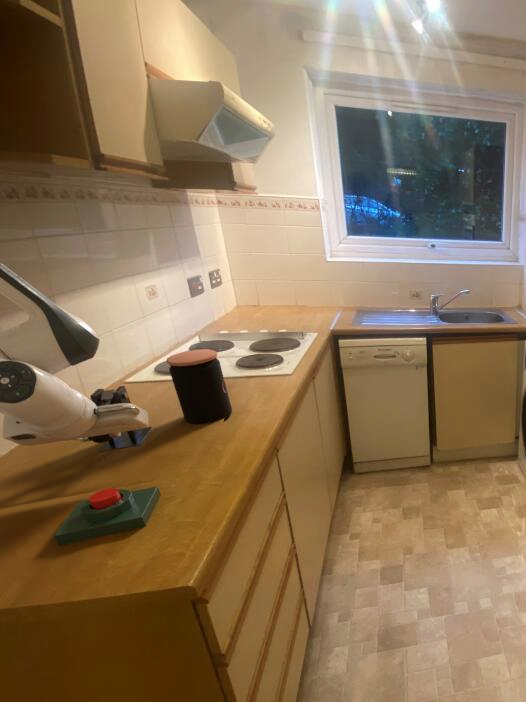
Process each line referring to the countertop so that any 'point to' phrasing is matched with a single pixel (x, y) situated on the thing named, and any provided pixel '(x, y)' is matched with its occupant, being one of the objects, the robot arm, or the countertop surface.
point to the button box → (109, 516)
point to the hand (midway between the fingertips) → (102, 436)
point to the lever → (107, 400)
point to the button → (105, 498)
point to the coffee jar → (200, 386)
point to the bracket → (126, 437)
